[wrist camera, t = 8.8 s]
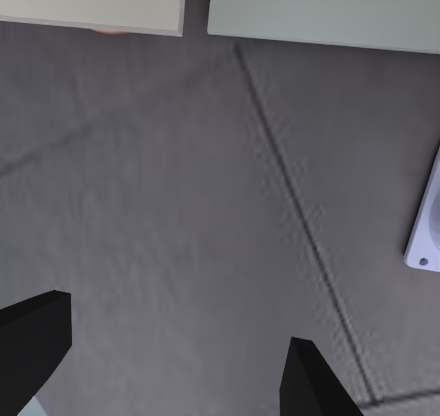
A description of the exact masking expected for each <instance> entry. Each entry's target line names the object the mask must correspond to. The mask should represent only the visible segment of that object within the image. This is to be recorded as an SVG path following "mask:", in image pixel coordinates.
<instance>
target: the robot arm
mask: <svg viewBox="0 0 440 416" xmlns="http://www.w3.org/2000/svg"><path fill="white" fill-rule="evenodd" d="M422 258H424V261H423V262H422V263H419V261H420V259H422ZM404 262H405V263H406V264H407V265H408V266H410V267H413V268H419V269H425V270H431V271H437V272H440V147H439V150H438V153H437V156H436V159H435V162H434V165H433V168H432V171H431V175H430V178H429V181H428V184H427V187H426V190H425V193H424V196H423V199H422V202H421V205H420V208H419V212H418V215H417V218H416V221H415V224H414V227H413V230H412V233H411V236H410V239H409V242H408V245H407V248H406V252H405V255H404ZM71 346H72V324H71V293H66V292H61V291H56V290H53V291H49V292H46V293H43V294H40V295H37V296H35V297H32V298H29V299H27V300H24V301H21V302H19V303H16V304H13V305H11V306H8V307H6V308H3V309H1V310H0V416H17V415H18V413H19V412H20V411H21V410H22V409H23V408H24V406H26V404H27V403H28V402H29V401H30V400H31V399H32V397H33V396H34V395H35V394H36V393H37V392H38V390H39V389H40V388H41V387H42V386H43V385H44V383H45V382H46V381H47V380H48V379H49V377H50V376H51V375H52V373H53V372H54V371H55V369H56V368H57V366H58V365H59V364H60V362H61V361H62V359H63V358H64V356H65V355H66V353H67V352H68V350H69V349H70V347H71ZM279 391H280V416H364V415H363V414H362V413H361V411H360V410H359V408H358V407H357V406H356V404H355V403H354V401H353V400H352V399H351V397H350V396H349V394H348V393H347V392H346V390H345V389H344V387H343V386H342V384H341V383H340V381H339V380H338V378H337V377H336V375H335V374H334V373H333V371H332V370H331V368H330V367H329V365H328V364H327V362H326V361H325V359H324V358H323V356H322V355H321V353H320V352H319V350H318V349H317V347H316V346H315V344H314V343H313V341H311V340H306V339H301V338H295V337H291V341H290V346H289V350H288V355H287V359H286V364H285V368H284V372H283V377H282V381H281V386H280V390H279Z"/></svg>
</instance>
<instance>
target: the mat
mask: <svg viewBox="0 0 440 416" xmlns="http://www.w3.org/2000/svg"><path fill="white" fill-rule="evenodd" d="M207 32H208V34H214V35H225V36H237V37H248V38H260V39H271V40H283V41H294V42H306V43H317V44H329V45H340V46H352V47H364V48H375V49H387V50H398V51H410V52H421V53H433V54H440V0H210V8H209V19H208V29H207Z"/></svg>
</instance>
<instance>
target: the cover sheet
mask: <svg viewBox="0 0 440 416" xmlns="http://www.w3.org/2000/svg"><path fill="white" fill-rule="evenodd" d="M184 7H185V0H0V21H11V22H22V23H34V24H45V25H56V26H67V27H78V28H90V29H101V30H112V31H123V32H135V33H146V34H157V35H168V36H180V37H182V33H183V20H184Z"/></svg>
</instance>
